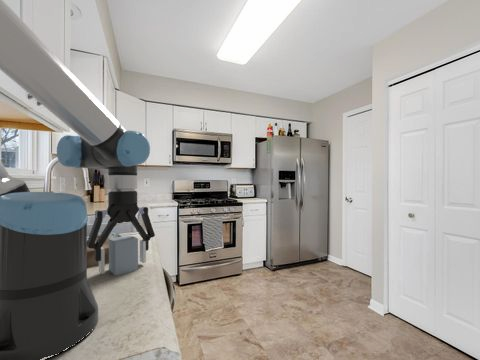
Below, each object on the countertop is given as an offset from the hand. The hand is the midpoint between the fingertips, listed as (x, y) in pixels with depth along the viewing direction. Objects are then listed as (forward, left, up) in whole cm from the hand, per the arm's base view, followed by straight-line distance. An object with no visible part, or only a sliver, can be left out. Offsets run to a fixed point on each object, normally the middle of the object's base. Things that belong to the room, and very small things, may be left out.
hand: (123, 266), depth 66 cm
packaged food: (+4, +36, -1) cm, 36 cm away
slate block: (0, 0, -1) cm, 1 cm away
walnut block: (0, +17, -1) cm, 17 cm away
